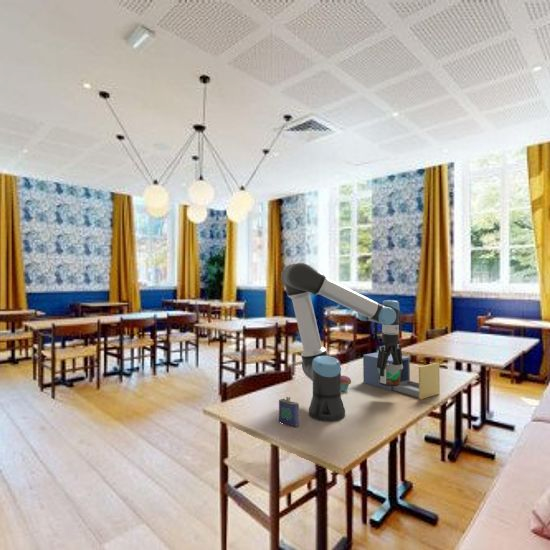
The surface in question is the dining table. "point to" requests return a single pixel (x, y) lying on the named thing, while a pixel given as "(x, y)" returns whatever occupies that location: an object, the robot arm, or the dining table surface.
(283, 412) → the flask
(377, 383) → the open box
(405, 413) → the dining table surface
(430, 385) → the tan boxy piece
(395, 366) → the food container
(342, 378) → the cupcake
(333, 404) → the robot arm
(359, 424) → the dining table surface
